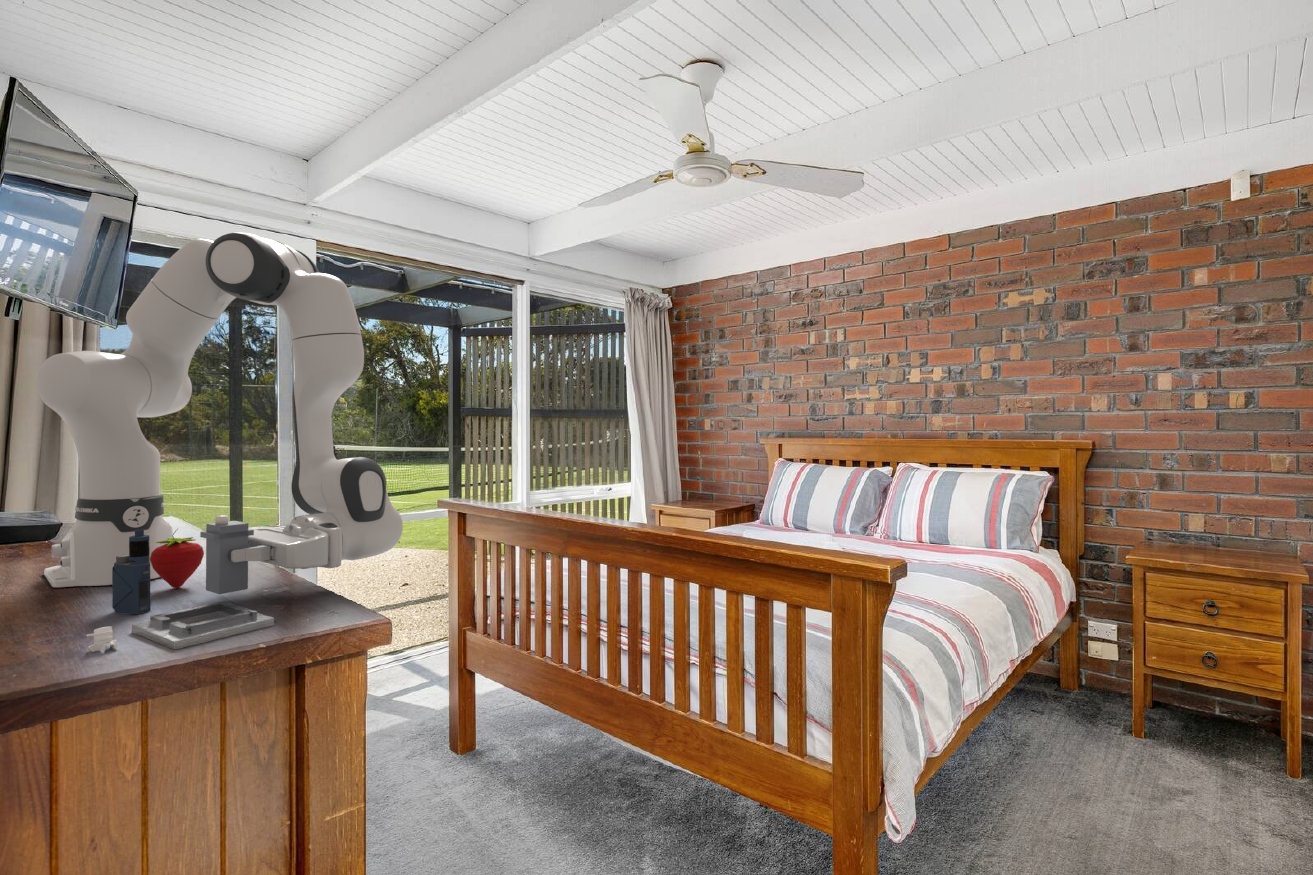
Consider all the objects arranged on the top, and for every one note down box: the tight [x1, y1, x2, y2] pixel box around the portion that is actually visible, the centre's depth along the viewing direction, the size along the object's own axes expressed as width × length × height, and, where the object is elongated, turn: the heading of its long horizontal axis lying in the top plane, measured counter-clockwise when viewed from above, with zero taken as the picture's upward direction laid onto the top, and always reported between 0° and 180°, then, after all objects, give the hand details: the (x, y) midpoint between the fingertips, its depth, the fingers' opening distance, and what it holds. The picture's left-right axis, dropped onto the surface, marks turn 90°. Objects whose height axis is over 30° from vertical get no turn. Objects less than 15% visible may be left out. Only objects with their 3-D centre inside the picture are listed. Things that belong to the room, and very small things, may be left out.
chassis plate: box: [131, 601, 275, 651], centre depth 91 cm, size 12×12×2 cm
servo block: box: [199, 514, 254, 595], centre depth 102 cm, size 4×6×11 cm
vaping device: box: [111, 529, 151, 615], centre depth 98 cm, size 3×5×12 cm, turn 79°
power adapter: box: [86, 626, 119, 654], centre depth 82 cm, size 3×3×3 cm
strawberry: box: [150, 528, 205, 589], centre depth 112 cm, size 6×8×10 cm
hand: (220, 553), depth 101 cm, fingers closed on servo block, 4 cm apart
